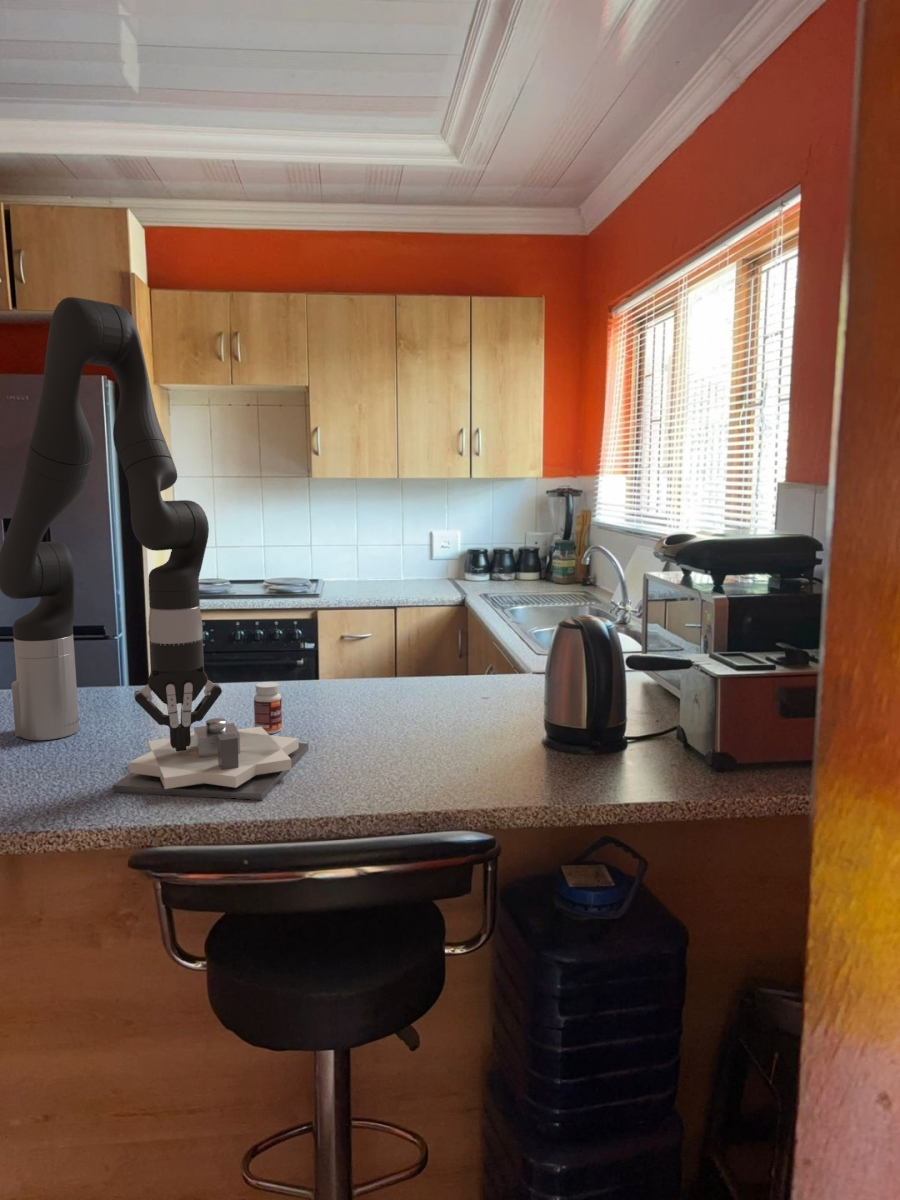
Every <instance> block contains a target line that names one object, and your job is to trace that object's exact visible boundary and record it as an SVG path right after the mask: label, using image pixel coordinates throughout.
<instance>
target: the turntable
mask: <svg viewBox="0 0 900 1200" xmlns="http://www.w3.org/2000/svg"><path fill="white" fill-rule="evenodd" d="M237 730H238V732H239V734H240V753H238V738H237V737H236V735H235V734H234V733H233V734H226V735H218V736H217V743H218V756H212V757H203V758H199V757H198V754H197V751H196V748H195V736H194V730H193V731H190V738H191V743H190V746H186V750H184V751H176V749H175V748H172V746H171V743H170V737H168V738H161V739H154V740H153V739H152V740H148V741H147V745H148V746H147V747H148V748H147V749H148V752H146V753H145V754H143V755H140V756H139V757H136V758H135V759H132V760H130V761H129V762H128V771H129V773H128V774H130V773H136V774H143V775H150V776H157V777H160V779H161V781H162V784H163V786H164V788H165V789H169V788H175V787H182V786H188V785H195V784H201V783H207V784H214V785H221V786H228V787H235V788H236V787H238V786H239V785H241V784H243V783H244V782H246V781H247V780H249V779H250V778H252V777H254V776H255V775H259V774H266V773H272V772H279V771H285V770H289V771H290V770H292V768H291V758H290V757H289V756H288V755H289V754H290V753H292V752H293V751H295V750H297V749H298V748H299V745H298V743H299V738H295V737H288V736H280V735H272V734H268V733H267V732H266V731H265V730H264V729H263V728H262V727H255V726H254V727H246V728H239V729H238V728H237Z"/></svg>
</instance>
